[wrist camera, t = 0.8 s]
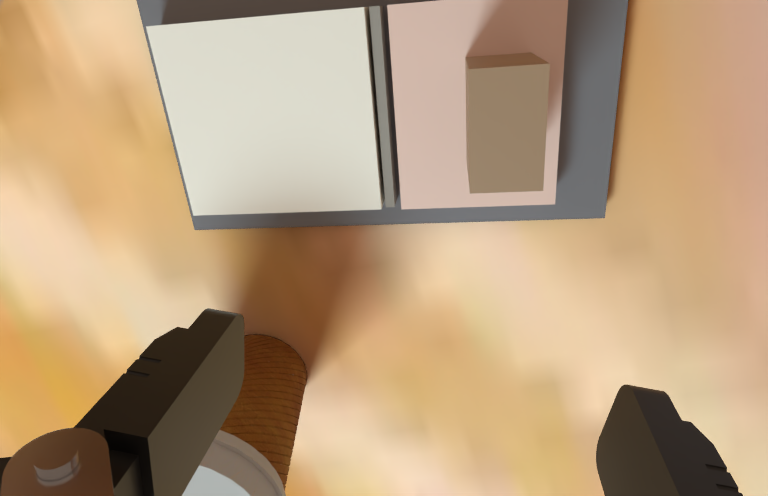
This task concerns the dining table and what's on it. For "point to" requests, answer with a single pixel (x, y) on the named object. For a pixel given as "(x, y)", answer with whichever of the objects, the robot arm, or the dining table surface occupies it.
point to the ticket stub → (477, 101)
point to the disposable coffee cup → (256, 426)
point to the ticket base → (574, 124)
